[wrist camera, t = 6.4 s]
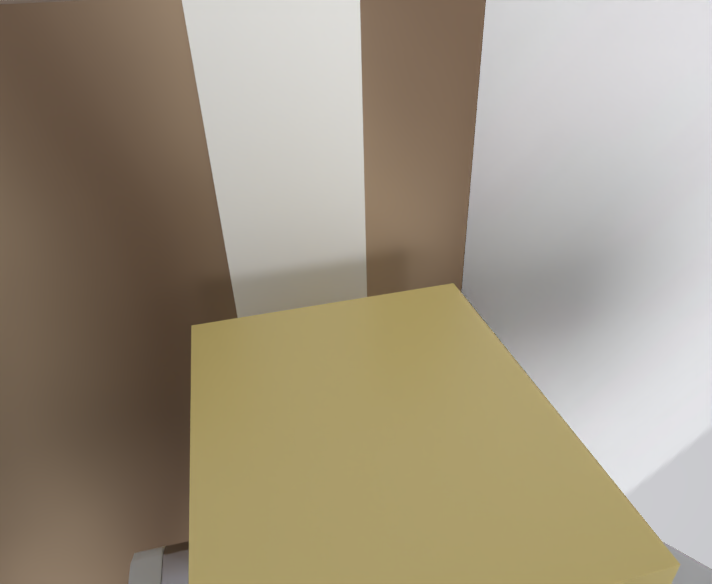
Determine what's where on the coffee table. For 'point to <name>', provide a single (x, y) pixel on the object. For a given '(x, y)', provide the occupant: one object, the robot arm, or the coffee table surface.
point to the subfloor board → (197, 226)
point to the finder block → (393, 456)
